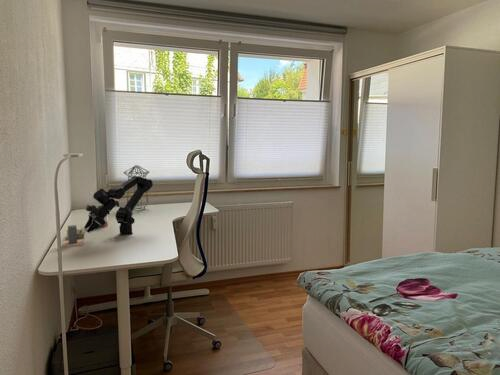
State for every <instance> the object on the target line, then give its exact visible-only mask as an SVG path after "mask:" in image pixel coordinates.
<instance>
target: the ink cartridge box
mask: <svg viewBox="0 0 500 375" xmlns="http://www.w3.org/2000/svg"><path fill="white" fill-rule="evenodd" d="M92 205H94V206H96V207H98V206H101V205H102V204H101V203H95V204H94V203H93V204H92ZM108 218H109V217H108V215H107V216H106V217H105V218H104V220H105V223H106V224H105V225H104V226H102V225H101V226H102V228H103V227H104V228H105V227H108V226H109V221H108V220H109V219H108Z"/></svg>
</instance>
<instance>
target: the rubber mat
mask: <svg viewBox="0 0 500 375" xmlns="http://www.w3.org/2000/svg"><path fill="white" fill-rule="evenodd" d="M84 239H85V238H84ZM84 239H77V242H78V243H73V244H69V240H64V241H62V245H61V248H67V246H69V247H76V245H79V246H84V241H85V240H84Z"/></svg>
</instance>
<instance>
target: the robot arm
mask: <svg viewBox="0 0 500 375" xmlns="http://www.w3.org/2000/svg"><path fill="white" fill-rule="evenodd" d="M131 177H132V176H131ZM134 186H135V187H136V189H135V193H134V192H133V194H132V196H131V197H130V198H129V199H128V203H127V202H126V204H125V205H124V206H120V201H119V200H120V199H122V198H123V197H124V196H125V195H126V192H128V191H129V190H130V189H132V188H134ZM153 186H154V183H153V181H152V179H150V178H149V179H148V178H146V179H145V177H144V178H143V177H142V176H141V177H140V175H135V176H134V175H133V177H132V178H129V180H128V179H127V180H126V181H125V182H123V183H122V184H121V185H118V186H114V187H112V188H111V187H110V188H109V189H108V191H105V189H103V188H99V190H97V191H96V192H94V194H93V197H92V198H93V199H94V200H95V201H97V202H98V204H102V205H101V206H97V207H96V206H94V205H93V204H88V203H87V205H86V207H85V208H84V209H85V211H87V212H88V220H87V221H86V223H85V225H84V227H83V229H84V230H86V229H87V230H86V233H90V232H93V231H94V230H96V229H99V228H101V227H102V226H104V225H105V224H106V223H105V220H104V218H105V217H106V216H107V217H108V215H110V214H111V213H110V212H111V211H112V210H113V209H114V208H115V207H116V206H117V207H119V208H118V210H117V211H116V212H115V214H114V216H115V220H116V222H117V224H120V225H119V234H120V235H121V236H123V235H124V236H125V235H133V234H134V233H133V224H135V220H136V219H135V218H134V217H133V209H134V210H135V206H136V205H138V204H139V203H138V202H140V201H141V200H142V197H143V196H144V195H145V194H146V192H147V193H148V191H150V190H151V189H152V187H153ZM137 203H138V204H137ZM101 225H102V226H101ZM104 227H105V226H104ZM102 228H103V227H102Z"/></svg>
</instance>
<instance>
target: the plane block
mask: <svg viewBox="0 0 500 375" xmlns="http://www.w3.org/2000/svg"><path fill="white" fill-rule="evenodd" d="M80 239H85V228H83V227H82V226H81V227H80V229H78V228H77V240H80ZM67 241H69V239H68V238H67Z"/></svg>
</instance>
